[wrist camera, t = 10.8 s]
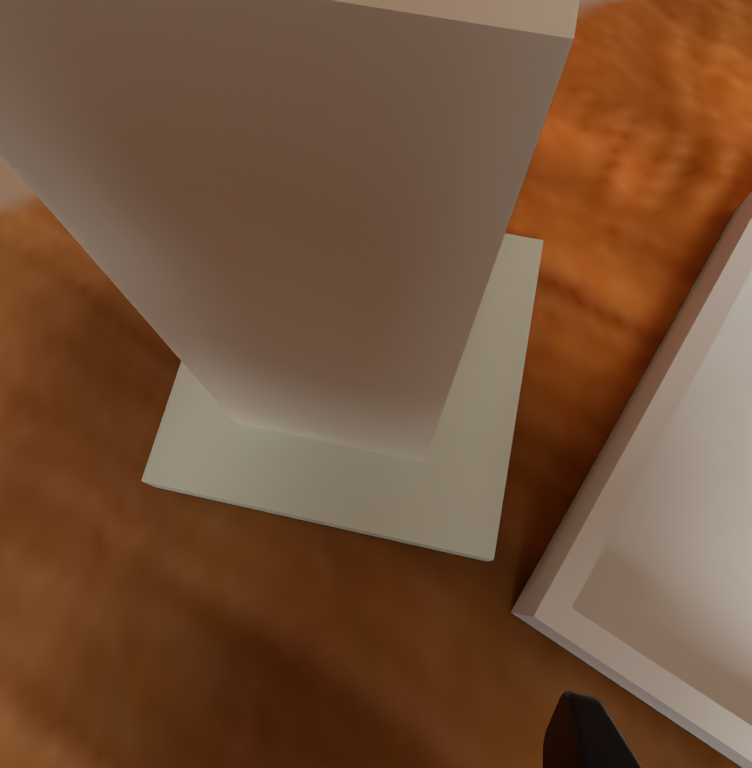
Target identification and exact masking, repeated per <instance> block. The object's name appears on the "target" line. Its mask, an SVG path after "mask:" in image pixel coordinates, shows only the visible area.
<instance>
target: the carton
mask: <svg viewBox="0 0 752 768" xmlns="http://www.w3.org/2000/svg"><path fill="white" fill-rule="evenodd" d="M579 2H580V0H0V154H1V155H2V156H3V157H4V158H5V159H6V160H7V162H8V163H9V164H10V165H11V166H12V168H14V170H15V171H16V172H17V173H18V174H19V176H20V177H21V178H22V179H23V180H24V181H25V182H26V184H27V185H28V186H29V187H30V188H31V189H32V190H33V192H34V193H35V194H36V195H37V196H38V197H39V198H40V200H41V201H42V202H43V203H44V204H45V205H46V206H47V208H48V209H49V210H50V211H51V212H52V213H53V215H54V216H55V217H56V218H57V219H58V220H59V221H60V223H61V224H62V225H63V226H64V227H65V228H66V229H67V231H68V232H69V233H70V234H71V235H72V236H73V237H74V239H75V240H76V241H77V242H78V243H79V244H80V245H81V247H82V248H83V249H84V250H85V251H86V252H87V253H88V255H89V256H90V257H91V258H92V259H93V260H94V261H95V263H96V264H97V265H98V266H99V267H100V268H101V269H102V271H103V272H104V273H105V274H106V275H107V276H108V278H109V279H110V280H111V281H112V282H113V283H114V284H115V286H116V287H117V288H118V289H119V290H120V291H121V292H122V294H123V295H124V296H125V297H126V298H127V299H128V300H129V302H130V303H131V304H132V305H133V306H134V307H135V308H136V310H137V311H138V312H139V313H140V314H141V315H142V316H143V318H144V319H145V320H146V321H147V322H148V323H149V324H150V326H151V327H152V328H153V329H154V330H155V331H156V332H157V334H158V335H159V336H160V337H161V338H162V339H163V340H164V342H165V343H166V344H167V345H168V346H169V347H170V349H171V350H172V351H173V352H174V353H175V354H176V355H177V357H178V358H179V359H180V360H181V361H182V362H183V363H184V365H185V366H186V367H187V368H188V369H189V370H190V371H191V373H192V374H193V375H194V376H195V377H196V378H197V379H198V381H199V382H200V383H201V384H202V385H203V386H204V387H205V389H206V390H207V391H208V392H209V393H210V394H211V395H212V397H213V398H214V399H215V400H216V401H217V402H218V403H219V405H220V406H221V407H222V408H223V409H224V410H225V411H226V413H227V414H228V415H229V416H230V417H231V418H232V420H233V421H234V422H235V423H239V424H244V425H249V426H253V427H258V428H263V429H268V430H273V431H277V432H282V433H287V434H292V435H296V436H301V437H306V438H311V439H316V440H320V441H325V442H330V443H335V444H339V445H344V446H349V447H354V448H358V449H363V450H368V451H373V452H378V453H382V454H387V455H392V456H397V457H401V458H406V459H411V460H416V461H421V462H425V459H426V456H427V453H428V451H429V448H430V445H431V442H432V439H433V437H434V434H435V431H436V428H437V425H438V422H439V420H440V417H441V414H442V411H443V408H444V405H445V403H446V400H447V397H448V394H449V391H450V388H451V386H452V383H453V380H454V377H455V374H456V371H457V369H458V366H459V363H460V360H461V357H462V354H463V352H464V349H465V346H466V343H467V340H468V337H469V335H470V332H471V329H472V326H473V323H474V320H475V318H476V315H477V312H478V309H479V306H480V303H481V301H482V298H483V295H484V292H485V289H486V286H487V284H488V281H489V278H490V275H491V272H492V269H493V267H494V264H495V261H496V258H497V255H498V252H499V250H500V247H501V244H502V241H503V238H504V235H505V233H506V230H507V227H508V224H509V221H510V218H511V216H512V213H513V210H514V207H515V204H516V202H517V199H518V196H519V193H520V190H521V187H522V185H523V182H524V179H525V176H526V173H527V170H528V168H529V165H530V162H531V159H532V156H533V153H534V151H535V148H536V145H537V142H538V139H539V136H540V134H541V131H542V128H543V125H544V122H545V119H546V117H547V114H548V111H549V108H550V105H551V102H552V100H553V97H554V94H555V91H556V88H557V85H558V83H559V80H560V77H561V74H562V71H563V68H564V66H565V63H566V60H567V57H568V54H569V51H570V49H571V46H572V43H573V40H574V35H575V28H576V22H577V15H578V8H579Z"/></svg>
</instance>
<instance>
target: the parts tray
mask: <svg viewBox="0 0 752 768" xmlns="http://www.w3.org/2000/svg"><path fill="white" fill-rule="evenodd" d="M511 613H512V614H514V615H515V616H517V617H518V618H520V619H521V620H523V621H524V622H526V623H527V624H529V625H530V626H532V627H533V628H535V629H536V630H538V631H539V632H541V633H542V634H544V635H545V636H547V637H548V638H550V639H551V640H553V641H554V642H556V643H557V644H559V645H560V646H562V647H563V648H565V649H566V650H568V651H569V652H571V653H572V654H574V655H575V656H577V657H578V658H580V659H581V660H583V661H584V662H586V663H587V664H589V665H590V666H592V667H593V668H595V669H596V670H598V671H599V672H600V673H602V674H603V675H605V676H606V677H608V678H609V679H611V680H612V681H614V682H615V683H617V684H618V685H620V686H621V687H623V688H624V689H626V690H627V691H629V692H630V693H632V694H633V695H635V696H636V697H638V698H639V699H641V700H642V701H644V702H645V703H647V704H648V705H650V706H651V707H653V708H654V709H656V710H657V711H659V712H660V713H662V714H663V715H665V716H666V717H668V718H669V719H671V720H672V721H674V722H675V723H677V724H678V725H680V726H681V727H683V728H684V729H686V730H687V731H689V732H690V733H692V734H693V735H694V736H696V737H697V738H699V739H700V740H702V741H703V742H705V743H706V744H708V745H709V746H711V747H712V748H714V749H715V750H717V751H718V752H720V753H721V754H723V755H724V756H726V757H727V758H729V759H730V760H732V761H733V762H735V763H736V764H738V765H739V766H741V767H742V768H752V192H751V193H750V194H749V195H748V196H747V197H746V198H745V200H744V201H743V202H742V203H741V204H740V205H739V206H738V207H737V208H736V209H735V211H734V213H733V215H732V217H731V218H730V220H729V222H728V224H727V225H726V227H725V229H724V231H723V233H722V234H721V236H720V238H719V240H718V242H717V243H716V245H715V247H714V249H713V251H712V252H711V254H710V256H709V258H708V260H707V261H706V263H705V265H704V267H703V268H702V270H701V272H700V274H699V276H698V277H697V279H696V281H695V283H694V285H693V286H692V288H691V290H690V292H689V294H688V295H687V297H686V299H685V301H684V302H683V304H682V306H681V308H680V310H679V311H678V313H677V315H676V317H675V319H674V320H673V322H672V324H671V326H670V328H669V329H668V331H667V333H666V335H665V337H664V338H663V340H662V342H661V344H660V345H659V347H658V349H657V351H656V353H655V354H654V356H653V358H652V360H651V362H650V363H649V365H648V367H647V369H646V371H645V372H644V374H643V376H642V378H641V379H640V381H639V383H638V385H637V387H636V388H635V390H634V392H633V394H632V396H631V397H630V399H629V401H628V403H627V405H626V406H625V408H624V410H623V412H622V414H621V415H620V417H619V419H618V421H617V422H616V424H615V426H614V428H613V430H612V431H611V433H610V435H609V437H608V439H607V440H606V442H605V444H604V446H603V448H602V449H601V451H600V453H599V455H598V456H597V458H596V460H595V462H594V464H593V465H592V467H591V469H590V471H589V473H588V474H587V476H586V478H585V480H584V482H583V483H582V485H581V487H580V489H579V491H578V492H577V494H576V496H575V498H574V499H573V501H572V503H571V505H570V507H569V508H568V510H567V512H566V514H565V516H564V517H563V519H562V521H561V523H560V525H559V526H558V528H557V530H556V532H555V534H554V535H553V537H552V539H551V541H550V542H549V544H548V546H547V548H546V550H545V551H544V553H543V555H542V557H541V559H540V560H539V562H538V564H537V566H536V568H535V569H534V571H533V573H532V575H531V576H530V578H529V580H528V582H527V584H526V585H525V587H524V589H523V591H522V593H521V594H520V596H519V598H518V600H517V602H516V603H515V605H514V607H513V609H512V611H511Z"/></svg>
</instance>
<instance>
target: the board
mask: <svg viewBox="0 0 752 768" xmlns="http://www.w3.org/2000/svg"><path fill="white" fill-rule="evenodd" d="M543 241H544V240H539V239H534V238H528V237H523V236H518V235H512V234H507V233H505V235H504V238H503V241H502V244H501V247H500V250H499V252H498V255H497V258H496V261H495V264H494V267H493V269H492V272H491V275H490V278H489V281H488V284H487V286H486V289H485V292H484V295H483V298H482V301H481V303H480V306H479V309H478V312H477V315H476V318H475V320H474V323H473V326H472V329H471V332H470V335H469V337H468V340H467V343H466V346H465V349H464V352H463V354H462V357H461V360H460V363H459V366H458V369H457V371H456V374H455V377H454V380H453V383H452V386H451V388H450V391H449V394H448V397H447V400H446V403H445V405H444V408H443V411H442V414H441V417H440V420H439V422H438V425H437V428H436V431H435V434H434V437H433V439H432V442H431V445H430V448H429V451H428V453H427V456H426V459H425V462H421V461H416V460H411V459H406V458H401V457H397V456H392V455H387V454H382V453H378V452H373V451H368V450H363V449H358V448H354V447H349V446H344V445H339V444H335V443H330V442H325V441H320V440H316V439H311V438H306V437H301V436H296V435H292V434H287V433H282V432H277V431H273V430H268V429H263V428H258V427H253V426H249V425H244V424H239V423H235V422H234V421H233V420H232V418H231V417H230V416H229V415H228V414H227V413H226V411H225V410H224V409H223V408H222V407H221V406H220V405H219V403H218V402H217V401H216V400H215V399H214V398H213V397H212V395H211V394H210V393H209V392H208V391H207V390H206V389H205V387H204V386H203V385H202V384H201V383H200V382H199V381H198V379H197V378H196V377H195V376H194V375H193V374H192V373H191V371H190V370H189V369H188V368H187V367H186V366H185V365H184V363H183V362H182V361H181V363H180V366H179V369H178V372H177V375H176V378H175V381H174V384H173V387H172V390H171V393H170V396H169V399H168V402H167V405H166V408H165V411H164V414H163V417H162V420H161V423H160V426H159V429H158V432H157V435H156V438H155V441H154V444H153V447H152V450H151V453H150V456H149V459H148V462H147V465H146V468H145V471H144V474H143V477H142V480H141V481H142V482H145V483H147V484H149V485H151V486H154V487H157V488H161V489H166V490H170V491H175V492H179V493H184V494H188V495H192V496H197V497H201V498H206V499H210V500H215V501H219V502H224V503H228V504H233V505H237V506H242V507H246V508H250V509H255V510H259V511H264V512H268V513H273V514H277V515H282V516H286V517H291V518H295V519H299V520H304V521H308V522H313V523H317V524H322V525H326V526H331V527H335V528H340V529H344V530H349V531H353V532H357V533H362V534H366V535H371V536H375V537H380V538H384V539H389V540H393V541H398V542H402V543H406V544H411V545H415V546H420V547H424V548H429V549H433V550H438V551H442V552H447V553H451V554H455V555H460V556H464V557H469V558H473V559H478V560H482V561H487V562H488V561H492V560H494V556H495V549H496V543H497V536H498V530H499V523H500V517H501V511H502V504H503V498H504V491H505V485H506V479H507V472H508V466H509V459H510V453H511V447H512V440H513V434H514V427H515V421H516V414H517V408H518V402H519V395H520V389H521V382H522V376H523V370H524V363H525V357H526V350H527V344H528V338H529V331H530V325H531V318H532V312H533V305H534V299H535V293H536V286H537V280H538V273H539V267H540V261H541V254H542V248H543Z"/></svg>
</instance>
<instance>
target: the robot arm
mask: <svg viewBox="0 0 752 768" xmlns="http://www.w3.org/2000/svg"><path fill="white" fill-rule="evenodd" d="M543 768H642V766H641V765H640V763H639V762H638V760H637V758H636V757H635V755H634V754H633V752H632V750H631V749H630V747H629V746H628V744H627V742H626V741H625V739H624V738H623V736H622V735H621V733H620V731H619V730H618V728H617V727H616V725H615V723H614V722H613V720H612V719H611V717H610V715H609V714H608V712H607V711H606V709H605V707H604V706H603V704H602V703H601V702H600V701H599V700H598V699H597V698H596V697H593V696H590V695H586V694H582V693H577V692H573V691H565V692H564V693H563V694H562V695H561V697H560V699H559V701H558V704H557V706H556V708H555V711H554V713H553V715H552V718H551V720H550V722H549V725H548V727H547V730H546V733H545V737H544V744H543Z"/></svg>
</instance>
